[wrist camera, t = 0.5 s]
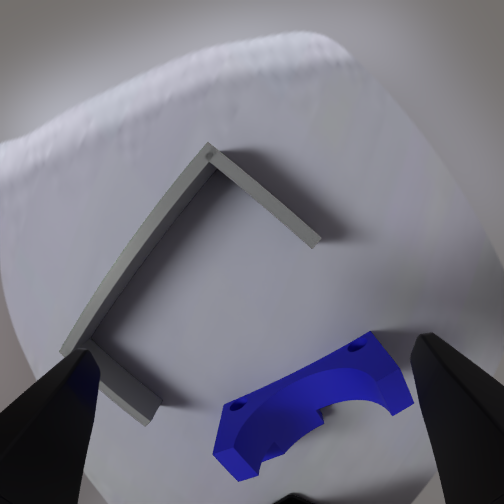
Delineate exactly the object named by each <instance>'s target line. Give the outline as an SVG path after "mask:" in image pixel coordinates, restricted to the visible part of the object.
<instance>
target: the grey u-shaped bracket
mask: <svg viewBox="0 0 504 504" xmlns="http://www.w3.org/2000/svg"><path fill="white" fill-rule="evenodd" d="M217 168H218V169H219V170H220V171H221V172H223V173H224V174H225V175H226V176H227V177H229V178H230V179H231V180H232V181H233V182H235V183H236V184H237V185H238V186H239V187H241V188H242V189H243V190H244V191H245V192H247V193H248V194H249V195H250V196H251V197H253V198H254V199H255V200H256V201H257V202H258V203H260V204H261V205H262V206H263V207H264V208H265V209H267V210H268V211H269V212H270V213H271V214H273V215H274V216H275V217H276V218H277V219H278V220H279V221H281V222H282V223H283V224H284V225H285V226H286V227H288V228H289V229H290V230H291V231H292V232H293V233H294V234H296V235H297V236H298V237H299V238H300V239H301V240H302V241H304V242H305V243H306V244H307V245H308V246H309V247H310V248H312V249H313V248H314V247H315V245H316V244H317V243H318V242H319V241H320V240H321V237H320V236H319V235H318V234H317V233H316V232H314V231H313V230H312V229H311V228H310V227H309V226H308V225H307V224H305V223H304V222H303V221H302V220H301V219H300V218H299V217H297V216H296V215H295V214H294V213H293V212H292V211H291V210H289V209H288V208H287V207H286V206H285V205H284V204H282V203H281V202H280V201H279V200H278V199H277V198H275V197H274V196H273V195H272V194H271V193H270V192H268V191H267V190H266V189H265V188H264V187H262V186H261V185H260V184H259V183H258V182H256V181H255V180H254V179H253V178H252V177H250V176H249V175H248V174H247V173H246V172H244V171H243V170H242V169H241V168H240V167H238V166H237V165H236V164H235V163H234V162H232V161H231V160H230V159H229V158H227V157H226V156H225V155H224V154H222V153H221V152H220V151H219V150H217V149H216V148H215V147H214V146H212V145H211V144H210V143H209V142H207V143H206V144H205V146H204V147H203V148H202V149H201V150H200V152H199V153H198V154H197V155H196V156H195V157H194V159H193V160H192V161H191V162H190V163H189V165H188V166H187V167H186V168H185V170H184V171H183V172H182V173H181V174H180V176H179V177H178V178H177V179H176V181H175V182H174V183H173V184H172V186H171V187H170V188H169V190H168V191H167V192H166V193H165V195H164V196H163V197H162V199H161V200H160V201H159V202H158V204H157V205H156V206H155V208H154V209H153V210H152V212H151V213H150V214H149V216H148V217H147V218H146V220H145V221H144V222H143V224H142V225H141V226H140V228H139V229H138V230H137V232H136V233H135V235H134V236H133V237H132V239H131V240H130V242H129V243H128V244H127V246H126V247H125V249H124V250H123V251H122V253H121V254H120V256H119V257H118V259H117V260H116V262H115V263H114V264H113V266H112V267H111V269H110V270H109V272H108V273H107V275H106V276H105V278H104V279H103V281H102V282H101V284H100V285H99V287H98V288H97V290H96V292H95V293H94V295H93V296H92V298H91V299H90V301H89V303H88V304H87V306H86V307H85V309H84V311H83V312H82V314H81V315H80V317H79V319H78V320H77V322H76V324H75V325H74V327H73V329H72V330H71V332H70V334H69V335H68V337H67V339H66V340H65V342H64V344H63V346H62V347H61V349H60V351H59V352H60V353H61V354H62V355H63V356H64V357H66V356H67V355H69V354H70V353H71V352H72V351H73V350H75V349H77V348H82V349H89V350H90V351H91V353H92V354H93V356H94V358H95V360H96V362H97V364H98V366H99V368H100V372H101V377H100V383H99V390H100V391H101V392H103V393H104V394H105V395H106V396H107V397H108V398H110V399H111V400H112V401H113V402H114V403H116V404H117V405H118V406H119V407H121V408H122V409H123V410H124V411H126V412H127V413H128V414H129V415H131V416H132V417H133V418H135V419H136V420H137V421H138V422H140V423H141V424H142V425H144V426H145V427H146V426H147V425H148V424H149V423H150V422H151V420H152V418H153V417H154V415H155V413H156V411H157V409H158V407H159V406H160V404H161V402H162V399H161V398H159V397H158V396H157V395H155V394H154V393H153V392H152V391H150V390H149V389H148V388H146V387H145V386H144V385H143V384H142V383H140V382H139V381H138V380H137V379H135V378H134V377H133V376H132V375H131V374H129V373H128V372H127V371H126V370H125V369H124V368H122V367H121V366H120V365H119V364H118V363H117V362H116V361H114V360H113V359H112V358H111V357H110V356H109V355H108V354H107V353H105V352H104V351H103V350H102V349H101V348H100V347H99V346H98V345H97V344H96V343H95V342H94V341H93V340H91V339H90V338H91V336H92V335H93V333H94V331H95V330H96V328H97V327H98V325H99V324H100V322H101V321H102V320H103V318H104V317H105V315H106V314H107V312H108V311H109V309H110V308H111V306H112V305H113V303H114V302H115V301H116V299H117V298H118V296H119V295H120V293H121V292H122V291H123V289H124V288H125V286H126V285H127V284H128V282H129V281H130V279H131V278H132V277H133V275H134V274H135V273H136V271H137V270H138V268H139V267H140V266H141V264H142V263H143V262H144V260H145V259H146V258H147V256H148V255H149V254H150V252H151V251H152V250H153V248H154V247H155V246H156V244H157V243H158V242H159V240H160V239H161V238H162V236H163V235H164V234H165V233H166V231H167V230H168V229H169V227H170V226H171V225H172V223H173V222H174V221H175V220H176V218H177V217H178V216H179V215H180V213H181V212H182V211H183V210H184V208H185V207H186V206H187V205H188V203H189V202H190V201H191V200H192V198H193V197H194V196H195V195H196V193H197V192H198V191H199V190H200V189H201V187H202V186H203V185H204V184H205V183H206V181H207V180H208V179H209V178H210V177H211V175H212V174H213V173H214V172H215V171H216V169H217Z"/></svg>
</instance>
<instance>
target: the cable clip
mask: <svg viewBox="0 0 504 504" xmlns="http://www.w3.org/2000/svg"><path fill="white" fill-rule="evenodd" d="M348 400H368V401H372V402H375V403H378V404H380V405H382V406H383V407H385V408H386V409H387V410H388V411H389V412H390V414H391V415H392V416H394V415H395V414H397V413H399V412H401V411H402V410H404V409H406V408H407V407H409V406H411V405H412V404H414V401H413V399H412V396H411V394H410V391H409V389H408V387H407V384H406V382H405V379H404V377H403V375H402V372H401V370H400V368H399V367H398V365H397V364H396V363H395V361H394V360H393V359H392V358H391V356H390V355H389V354H388V353H387V351H386V350H385V349H384V348H383V346H382V345H381V344H380V343H379V341H378V340H377V339H376V338H375V336H374V335H373V334H372V333H371V331H369V332H368V333H366V334H364V335H363V336H361V337H359V338H357V339H356V340H354V341H352V342H350V343H349V344H347V345H345V346H343V347H342V348H340V349H338V350H336V351H334V352H332V353H331V354H329V355H327V356H325V357H323V358H321V359H319V360H318V361H316V362H314V363H312V364H310V365H308V366H306V367H304V368H302V369H300V370H298V371H296V372H294V373H292V374H290V375H288V376H286V377H284V378H282V379H280V380H278V381H276V382H273V383H271V384H269V385H267V386H265V387H263V388H261V389H258V390H256V391H254V392H252V393H249V394H247V395H245V396H243V397H240V398H238V399H236V400H233V401H231V402H229V403H226V404H224V406H223V411H222V415H221V419H220V424H219V428H218V432H217V437H216V441H215V445H214V450H213V456H214V457H215V458H216V459H217V460H218V461H219V462H220V463H221V464H222V465H223V466H224V467H225V468H226V470H227V471H228V472H229V473H230V474H231V475H232V476H233V477H234V478H235V479H236V480H237V481H238V482H239V481H243V480H246V479H249V478H252V477H256V476H259V470H260V466H261V463H262V462H264V461H266V460H269V459H272V458H275V457H277V456H280V455H283V454H285V452H286V451H287V450H288V449H289V448H290V447H291V446H292V445H293V444H294V443H295V442H297V441H298V440H299V439H300V438H301V437H303V436H304V435H305V434H307V433H308V432H310V431H312V430H313V429H315V428H317V427H318V426H320V425H322V424H324V420H323V416H322V413H321V412H320V410H319V409H320V408H323V407H325V406H328V405H331V404H334V403H338V402H342V401H348Z"/></svg>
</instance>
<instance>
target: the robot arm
mask: <svg viewBox="0 0 504 504" xmlns="http://www.w3.org/2000/svg"><path fill="white" fill-rule="evenodd" d="M410 360H411V366H412V370H413V375H414V379H415V384H416V389H417V394H418V399H419V404H420V408H421V412H422V415H423V418H424V422H425V425H426V428H427V432H428V435H429V439H430V442H431V446H432V449H433V453H434V457H435V461H436V464H437V468H438V472H439V476H440V480H441V485H442V489H443V493H444V498H445V503H446V504H504V386H503V385H502V384H501V383H499V382H498V381H497V380H496V379H494V378H493V377H492V376H490V375H489V374H488V373H486V372H485V371H484V370H482V369H481V368H480V367H479V366H477V365H476V364H475V363H473V362H472V361H471V360H469V359H468V358H467V357H465V356H464V355H463V354H461V353H460V352H459V351H457V350H456V349H454V348H453V347H452V346H450V345H449V344H448V343H446V342H445V341H444V340H442V339H441V338H440V337H438V336H437V335H435V334H434V333H424V334H420V335H419V336H418V337H417V339H416V342H415V345H414V348H413V350H412V353H411V358H410ZM100 377H101V372H100V368H99V366H98V364H97V362H96V360H95V358H94V356H93V354H92V353H91V351H90V350H89V349H82V348H77V349H75V350H73V351H72V352H71V353H70V354H69V355H67V356H66V357H65V358H64V359H63V360H61V361H60V362H59V363H58V364H57V365H55V366H54V367H53V368H52V369H51V370H49V371H48V372H47V373H46V374H45V375H44V376H42V377H41V378H40V379H39V380H38V381H37V382H36V383H34V384H33V385H32V386H31V387H30V388H28V389H27V390H26V391H25V392H24V393H23V394H21V395H20V396H19V397H18V398H17V399H16V400H15V401H13V402H12V403H11V404H10V405H9V406H8V407H7V408H5V409H4V410H3V411H2V412H1V413H0V504H78V498H79V491H80V486H81V480H82V475H83V469H84V464H85V459H86V454H87V450H88V445H89V441H90V436H91V432H92V427H93V423H94V417H95V411H96V403H97V396H98V389H99V383H100ZM274 504H313V503H311V502H309V501H306V500H304V499H302V498H300V497H298V496H295V495H287V496H286V497H284V498H282V499H281V500H279V501H277V502H276V503H274Z"/></svg>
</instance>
